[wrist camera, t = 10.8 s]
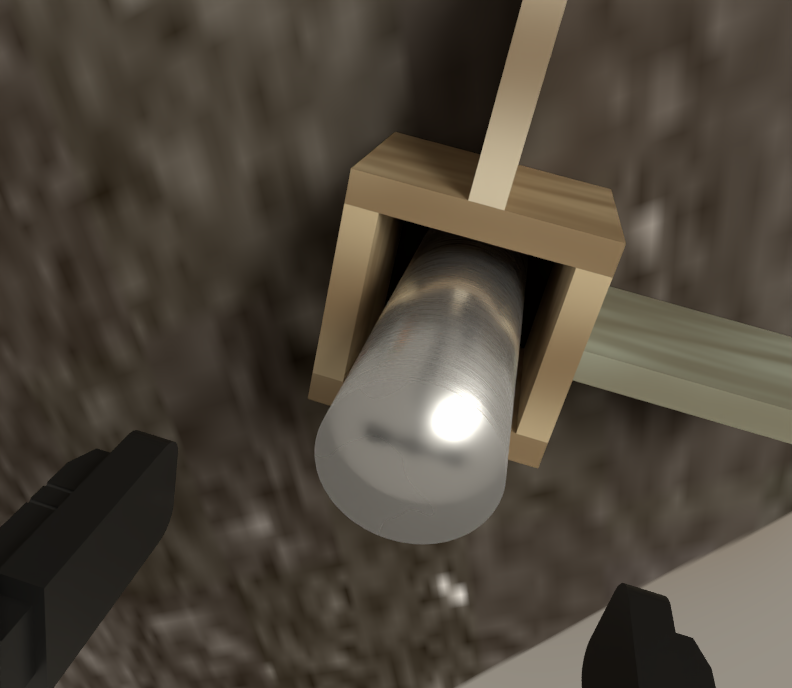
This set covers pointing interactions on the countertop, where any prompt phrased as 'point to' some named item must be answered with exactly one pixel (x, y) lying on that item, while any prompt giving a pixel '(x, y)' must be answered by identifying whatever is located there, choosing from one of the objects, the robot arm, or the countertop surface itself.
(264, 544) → the countertop surface
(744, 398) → the hinge
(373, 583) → the countertop surface
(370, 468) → the hinge pin
